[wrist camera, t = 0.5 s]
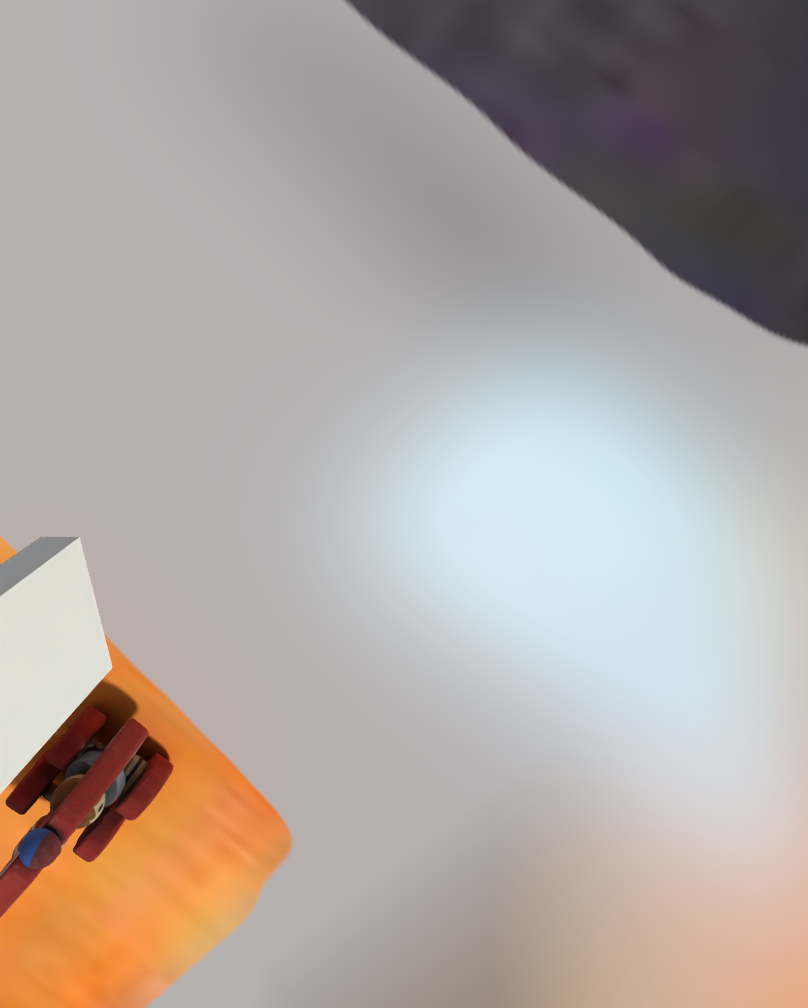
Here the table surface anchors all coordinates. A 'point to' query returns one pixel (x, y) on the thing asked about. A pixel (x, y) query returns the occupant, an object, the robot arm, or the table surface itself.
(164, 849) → the table surface
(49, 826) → the red wheeled toy
